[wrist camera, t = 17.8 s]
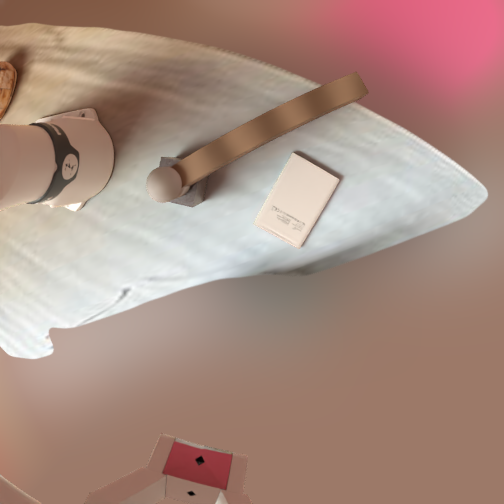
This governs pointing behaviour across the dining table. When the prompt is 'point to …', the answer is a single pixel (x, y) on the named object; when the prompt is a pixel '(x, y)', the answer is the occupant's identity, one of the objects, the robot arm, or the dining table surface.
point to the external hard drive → (296, 200)
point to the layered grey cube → (195, 190)
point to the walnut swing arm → (252, 136)
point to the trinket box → (6, 85)
